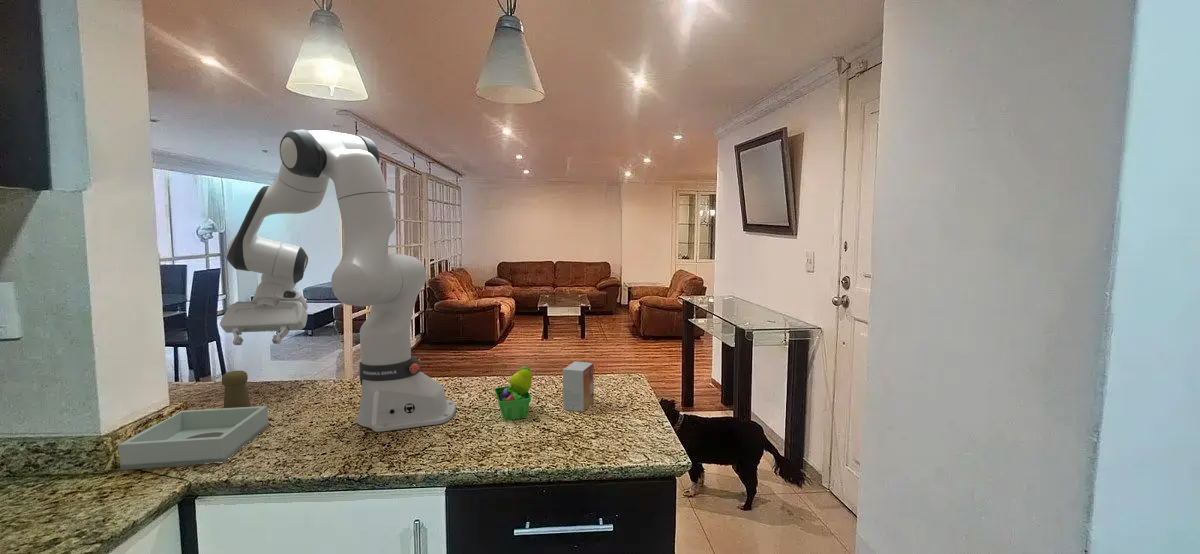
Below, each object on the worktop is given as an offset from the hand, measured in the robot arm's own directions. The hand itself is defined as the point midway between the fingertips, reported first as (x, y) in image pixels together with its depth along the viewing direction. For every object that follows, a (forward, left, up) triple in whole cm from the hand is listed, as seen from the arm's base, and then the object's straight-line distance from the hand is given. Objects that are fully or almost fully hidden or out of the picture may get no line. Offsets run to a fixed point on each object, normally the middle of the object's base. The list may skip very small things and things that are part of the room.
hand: (256, 343), depth 135 cm
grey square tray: (-2, +29, -15) cm, 33 cm away
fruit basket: (-67, +20, -16) cm, 72 cm away
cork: (0, +11, -16) cm, 19 cm away
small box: (-83, +18, -16) cm, 86 cm away
